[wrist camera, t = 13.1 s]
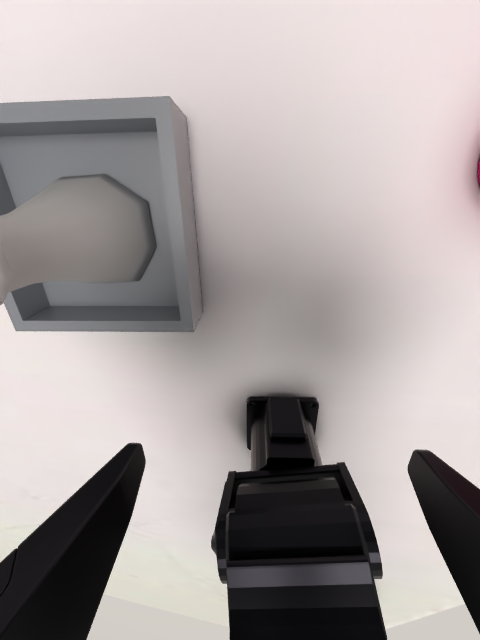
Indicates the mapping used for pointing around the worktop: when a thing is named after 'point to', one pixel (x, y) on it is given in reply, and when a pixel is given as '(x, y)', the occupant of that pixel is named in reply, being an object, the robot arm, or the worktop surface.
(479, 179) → the pepper mill
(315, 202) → the worktop surface
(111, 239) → the flask
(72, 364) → the worktop surface
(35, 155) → the box
